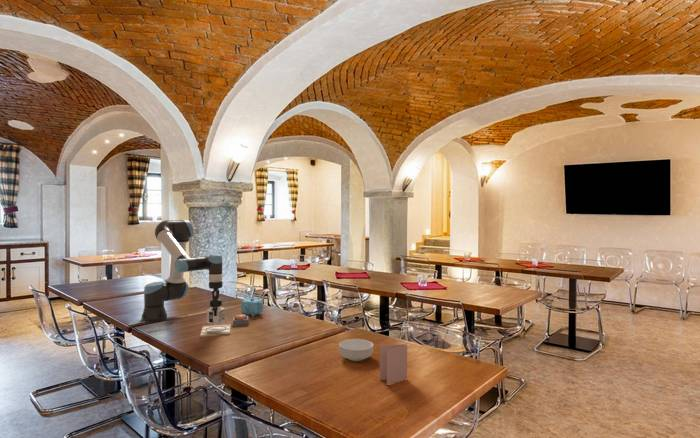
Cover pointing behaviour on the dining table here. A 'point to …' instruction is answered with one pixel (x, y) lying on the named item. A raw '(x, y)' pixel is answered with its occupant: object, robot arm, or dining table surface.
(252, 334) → the dining table surface
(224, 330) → the drawing board
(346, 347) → the cereal bowl
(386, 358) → the greeting card
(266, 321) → the dining table surface
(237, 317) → the button
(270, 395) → the dining table surface
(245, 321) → the button box
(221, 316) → the container
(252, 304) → the teapot
